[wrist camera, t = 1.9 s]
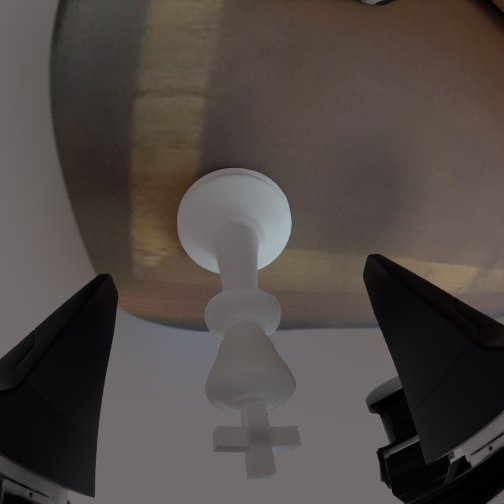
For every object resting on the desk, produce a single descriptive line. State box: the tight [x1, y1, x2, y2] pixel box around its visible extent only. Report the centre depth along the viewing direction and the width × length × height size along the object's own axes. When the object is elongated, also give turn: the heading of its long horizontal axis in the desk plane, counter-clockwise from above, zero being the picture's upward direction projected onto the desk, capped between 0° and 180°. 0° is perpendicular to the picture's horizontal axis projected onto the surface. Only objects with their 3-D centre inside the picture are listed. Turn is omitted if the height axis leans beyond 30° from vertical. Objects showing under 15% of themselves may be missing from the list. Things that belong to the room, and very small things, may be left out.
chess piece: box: [177, 168, 301, 479], centre depth 8 cm, size 5×5×10 cm
